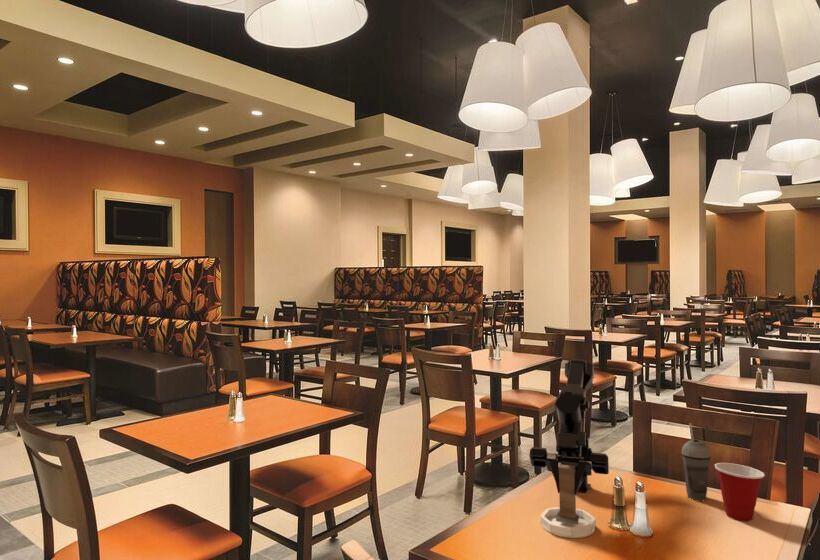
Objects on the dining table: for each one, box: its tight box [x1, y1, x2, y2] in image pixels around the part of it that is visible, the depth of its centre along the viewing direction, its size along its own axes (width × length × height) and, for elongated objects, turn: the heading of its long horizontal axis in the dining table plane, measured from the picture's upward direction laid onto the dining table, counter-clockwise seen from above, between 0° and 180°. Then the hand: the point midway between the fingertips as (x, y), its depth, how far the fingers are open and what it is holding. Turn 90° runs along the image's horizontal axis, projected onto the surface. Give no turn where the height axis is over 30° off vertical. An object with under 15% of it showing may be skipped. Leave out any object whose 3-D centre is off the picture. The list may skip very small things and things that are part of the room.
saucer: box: [540, 506, 596, 539], centre depth 133 cm, size 12×12×2 cm
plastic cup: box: [714, 462, 766, 522], centre depth 137 cm, size 11×11×12 cm
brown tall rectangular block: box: [556, 463, 579, 524], centre depth 133 cm, size 5×5×12 cm
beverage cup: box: [680, 423, 712, 502], centre depth 149 cm, size 7×7×20 cm
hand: (566, 493), depth 132 cm, fingers closed on brown tall rectangular block, 3 cm apart
